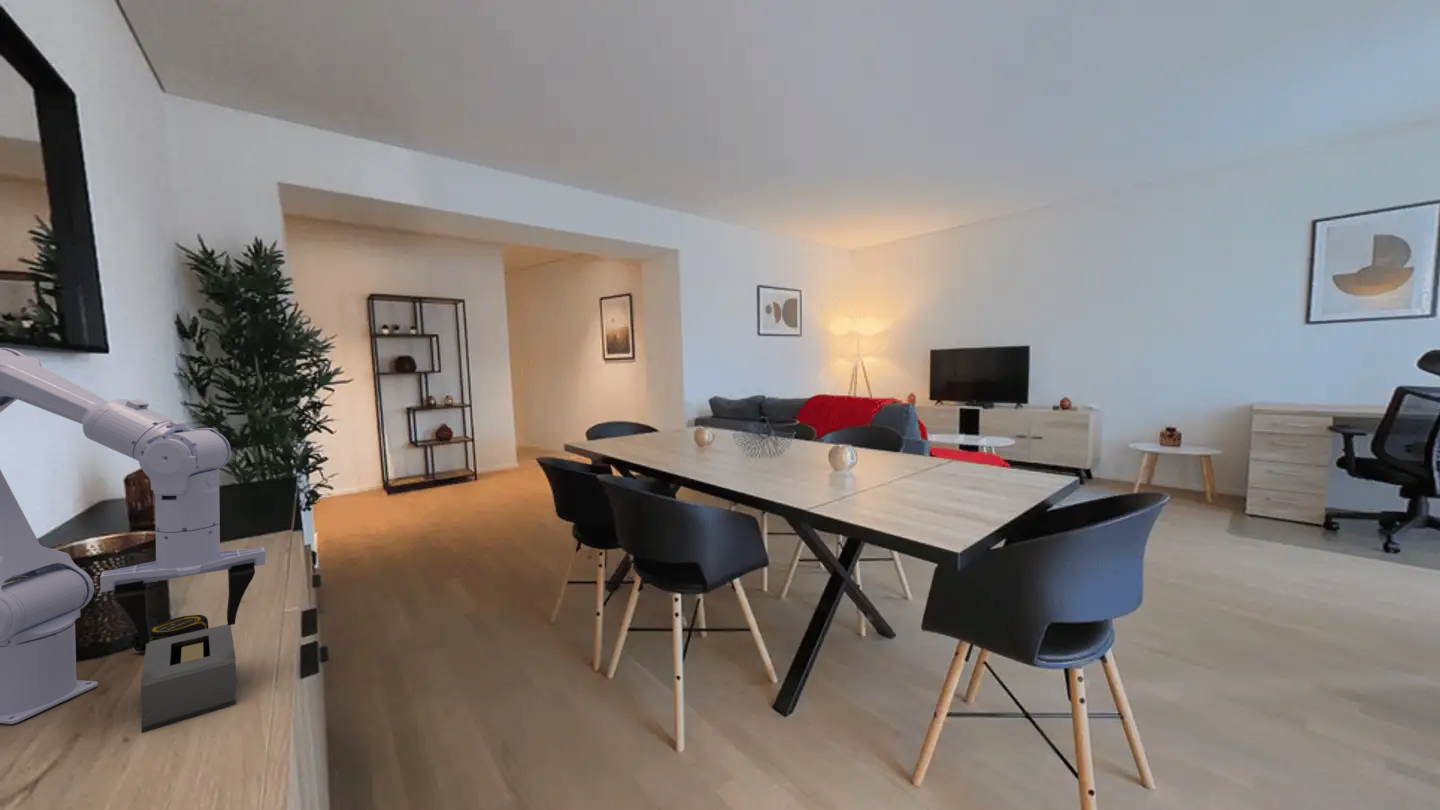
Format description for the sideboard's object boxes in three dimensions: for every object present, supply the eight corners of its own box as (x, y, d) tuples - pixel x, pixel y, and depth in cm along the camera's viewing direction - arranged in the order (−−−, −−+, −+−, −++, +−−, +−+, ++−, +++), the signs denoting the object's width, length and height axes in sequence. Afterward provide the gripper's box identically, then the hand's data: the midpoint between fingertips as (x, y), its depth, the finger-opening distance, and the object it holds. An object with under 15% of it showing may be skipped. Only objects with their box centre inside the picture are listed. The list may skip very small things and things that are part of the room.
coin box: (147, 686, 69) (146, 642, 69) (230, 664, 75) (230, 623, 75) (141, 732, 61) (140, 681, 61) (236, 704, 67) (235, 657, 66)
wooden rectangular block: (182, 684, 69) (181, 647, 69) (203, 678, 71) (203, 642, 70) (181, 702, 66) (180, 662, 65) (203, 695, 67) (203, 657, 67)
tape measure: (185, 633, 83) (184, 610, 83) (220, 639, 82) (220, 615, 82) (129, 655, 77) (129, 630, 76) (167, 662, 75) (167, 636, 75)
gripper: (95, 545, 59) (98, 664, 60) (267, 523, 69) (267, 625, 70) (103, 530, 64) (105, 640, 65) (262, 512, 74) (262, 607, 75)
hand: (190, 631), depth 68 cm, fingers open, 7 cm apart
